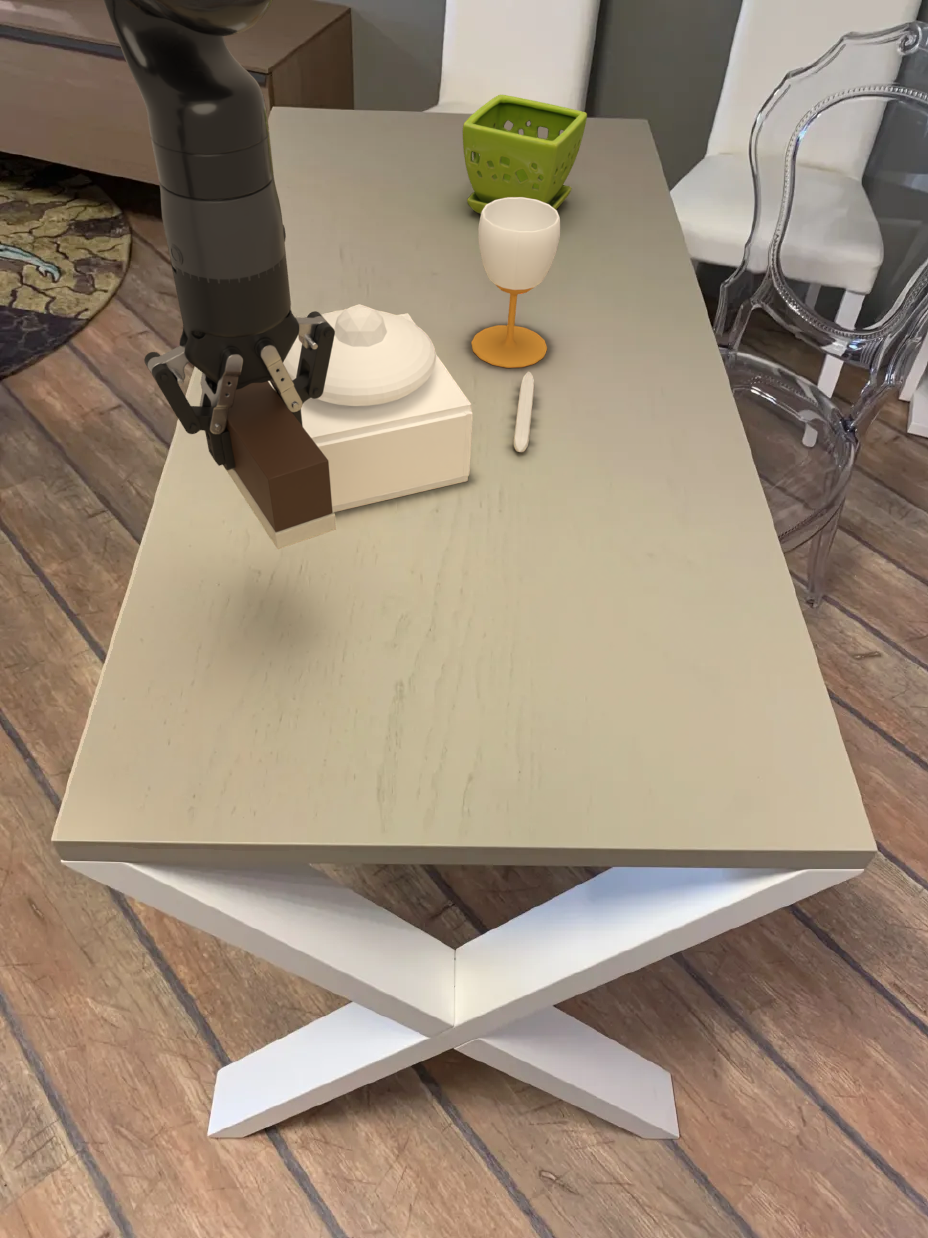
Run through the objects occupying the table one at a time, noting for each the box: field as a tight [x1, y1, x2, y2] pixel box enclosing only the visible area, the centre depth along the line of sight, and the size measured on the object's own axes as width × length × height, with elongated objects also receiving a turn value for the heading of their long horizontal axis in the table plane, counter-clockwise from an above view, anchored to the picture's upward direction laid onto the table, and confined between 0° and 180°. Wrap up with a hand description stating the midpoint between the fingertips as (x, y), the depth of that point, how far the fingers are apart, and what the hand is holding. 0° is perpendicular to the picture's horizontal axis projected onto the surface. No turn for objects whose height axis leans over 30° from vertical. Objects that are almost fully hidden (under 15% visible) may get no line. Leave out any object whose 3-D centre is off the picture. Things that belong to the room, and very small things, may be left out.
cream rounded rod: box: [513, 371, 535, 453], centre depth 103 cm, size 2×14×2 cm, turn 174°
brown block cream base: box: [226, 381, 337, 550], centre depth 72 cm, size 12×5×6 cm, turn 30°
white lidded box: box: [268, 303, 474, 513], centre depth 93 cm, size 18×18×16 cm
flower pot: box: [462, 94, 588, 215], centre depth 133 cm, size 14×14×13 cm
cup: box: [470, 197, 561, 369], centre depth 106 cm, size 9×9×16 cm
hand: (258, 453), depth 75 cm, fingers closed on brown block cream base, 4 cm apart
